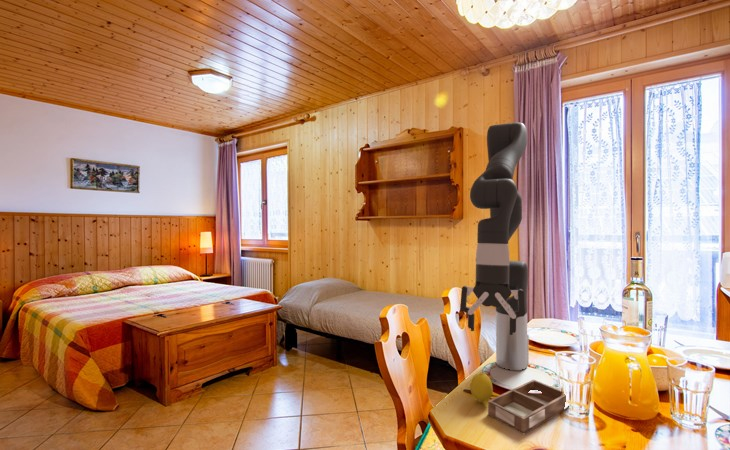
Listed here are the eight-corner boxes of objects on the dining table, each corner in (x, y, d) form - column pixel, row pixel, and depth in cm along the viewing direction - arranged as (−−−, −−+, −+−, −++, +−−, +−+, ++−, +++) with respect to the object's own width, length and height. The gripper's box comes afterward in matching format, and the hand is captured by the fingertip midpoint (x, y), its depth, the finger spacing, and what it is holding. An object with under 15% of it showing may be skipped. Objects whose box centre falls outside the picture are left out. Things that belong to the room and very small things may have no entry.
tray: (533, 392, 103) (533, 379, 103) (569, 407, 95) (569, 394, 95) (487, 415, 93) (487, 401, 93) (524, 434, 85) (524, 419, 84)
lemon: (494, 409, 95) (493, 378, 95) (471, 407, 96) (471, 376, 96) (491, 398, 101) (491, 368, 100) (469, 396, 102) (469, 367, 101)
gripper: (524, 263, 91) (523, 332, 90) (462, 261, 96) (461, 326, 95) (526, 265, 84) (525, 339, 83) (459, 262, 89) (458, 332, 88)
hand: (491, 332), depth 89 cm, fingers open, 8 cm apart
